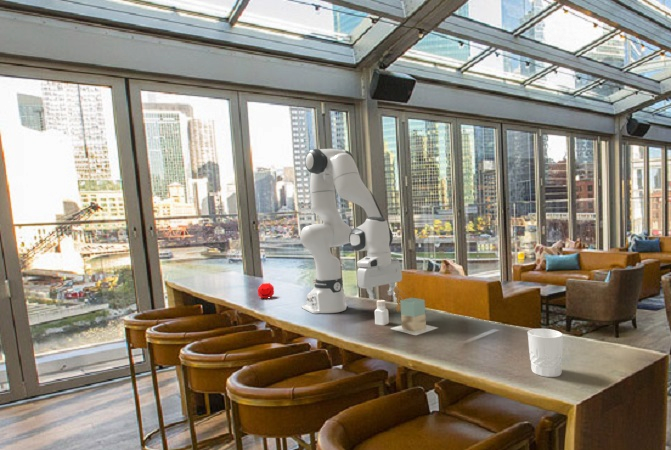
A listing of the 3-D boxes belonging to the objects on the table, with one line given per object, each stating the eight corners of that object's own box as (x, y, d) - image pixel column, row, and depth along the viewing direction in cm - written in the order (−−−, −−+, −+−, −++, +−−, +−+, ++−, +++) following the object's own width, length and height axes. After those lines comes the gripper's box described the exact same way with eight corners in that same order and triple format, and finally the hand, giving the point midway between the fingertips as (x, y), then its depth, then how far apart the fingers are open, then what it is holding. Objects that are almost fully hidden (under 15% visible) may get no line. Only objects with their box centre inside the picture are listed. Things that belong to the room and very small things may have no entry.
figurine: (411, 313, 169) (410, 284, 168) (404, 316, 164) (402, 286, 164) (395, 310, 174) (393, 283, 174) (387, 313, 170) (385, 285, 169)
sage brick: (401, 314, 144) (400, 300, 144) (412, 311, 148) (411, 297, 147) (413, 317, 139) (413, 302, 139) (425, 313, 143) (424, 299, 143)
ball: (258, 300, 213) (257, 285, 213) (259, 297, 221) (258, 283, 221) (273, 299, 213) (272, 284, 213) (274, 296, 221) (273, 282, 221)
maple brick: (401, 328, 144) (401, 314, 144) (413, 324, 148) (412, 311, 147) (414, 331, 139) (414, 317, 139) (426, 327, 143) (425, 313, 143)
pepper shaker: (383, 328, 149) (382, 302, 149) (374, 326, 152) (373, 301, 151) (389, 325, 152) (388, 300, 152) (380, 324, 155) (379, 299, 154)
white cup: (555, 365, 106) (553, 328, 106) (570, 378, 98) (568, 337, 98) (524, 366, 107) (522, 329, 106) (536, 378, 99) (535, 338, 99)
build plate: (389, 331, 144) (389, 328, 144) (412, 324, 152) (412, 321, 152) (415, 338, 135) (415, 335, 135) (438, 330, 142) (438, 327, 142)
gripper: (392, 257, 160) (395, 291, 160) (353, 262, 147) (355, 300, 147) (404, 257, 155) (407, 293, 155) (364, 263, 142) (367, 302, 142)
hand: (381, 297), depth 151 cm, fingers open, 8 cm apart
